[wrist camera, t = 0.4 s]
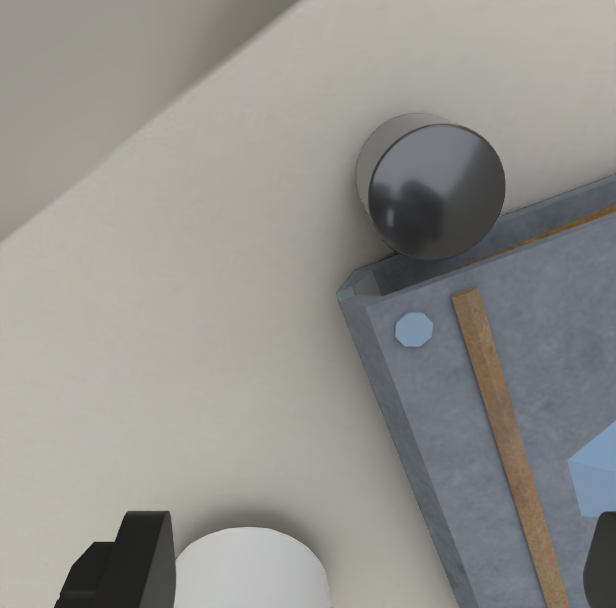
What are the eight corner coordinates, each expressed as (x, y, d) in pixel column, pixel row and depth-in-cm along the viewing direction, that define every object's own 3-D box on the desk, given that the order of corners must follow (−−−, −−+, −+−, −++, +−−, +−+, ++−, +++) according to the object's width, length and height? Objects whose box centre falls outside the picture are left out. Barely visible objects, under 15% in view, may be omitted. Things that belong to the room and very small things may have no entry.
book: (333, 274, 23) (343, 327, 19) (747, 121, 21) (873, 137, 17) (465, 611, 31) (495, 707, 27) (778, 522, 29) (868, 608, 25)
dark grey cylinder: (333, 156, 22) (341, 176, 18) (436, 88, 21) (467, 93, 17) (391, 250, 23) (410, 285, 19) (489, 189, 22) (529, 215, 18)
